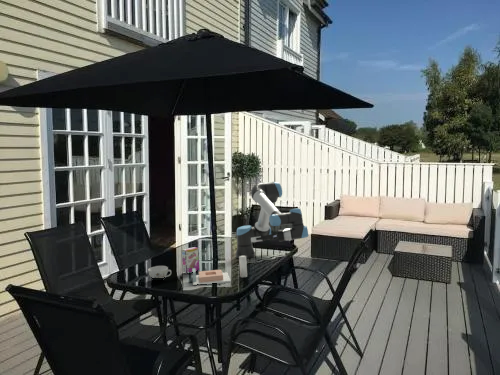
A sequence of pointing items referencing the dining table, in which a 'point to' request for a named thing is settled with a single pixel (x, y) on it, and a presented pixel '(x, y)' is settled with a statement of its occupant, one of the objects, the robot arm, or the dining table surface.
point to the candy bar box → (190, 259)
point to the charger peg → (243, 266)
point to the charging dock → (225, 276)
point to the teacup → (159, 272)
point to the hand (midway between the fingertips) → (251, 240)
